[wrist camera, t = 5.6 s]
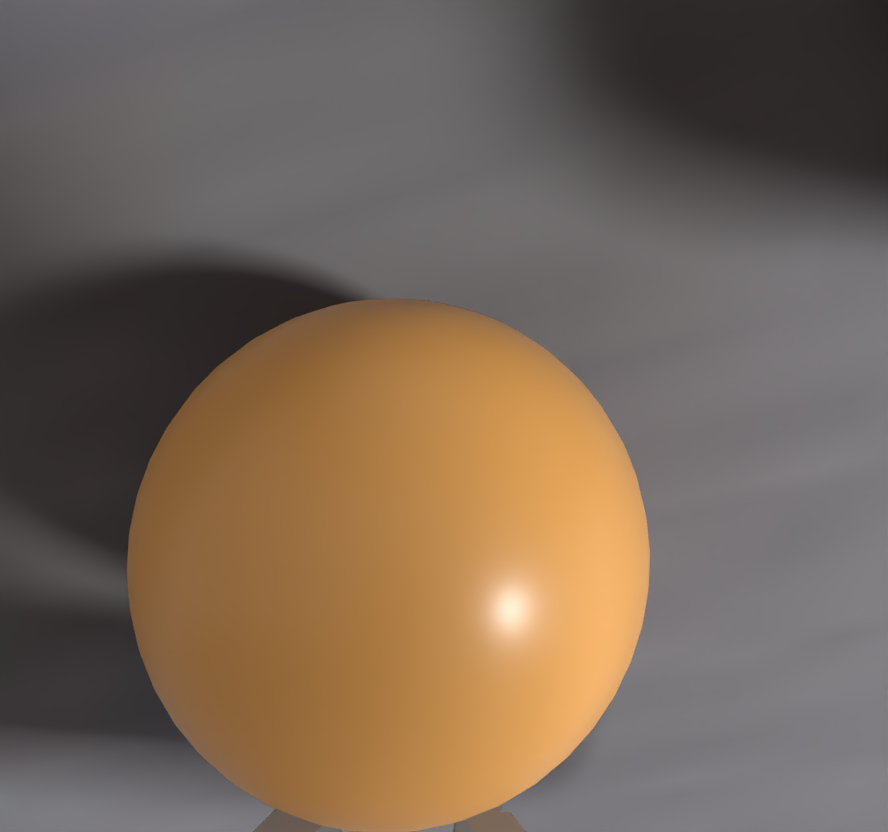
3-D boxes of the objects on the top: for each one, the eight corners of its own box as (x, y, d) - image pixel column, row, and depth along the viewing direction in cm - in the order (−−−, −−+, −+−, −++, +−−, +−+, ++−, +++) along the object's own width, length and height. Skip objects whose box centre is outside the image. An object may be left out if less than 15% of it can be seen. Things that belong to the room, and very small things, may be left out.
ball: (558, 790, 10) (564, 430, 12) (821, 977, 4) (737, 228, 6) (163, 757, 9) (247, 390, 11) (-158, 915, 4) (131, 135, 6)
